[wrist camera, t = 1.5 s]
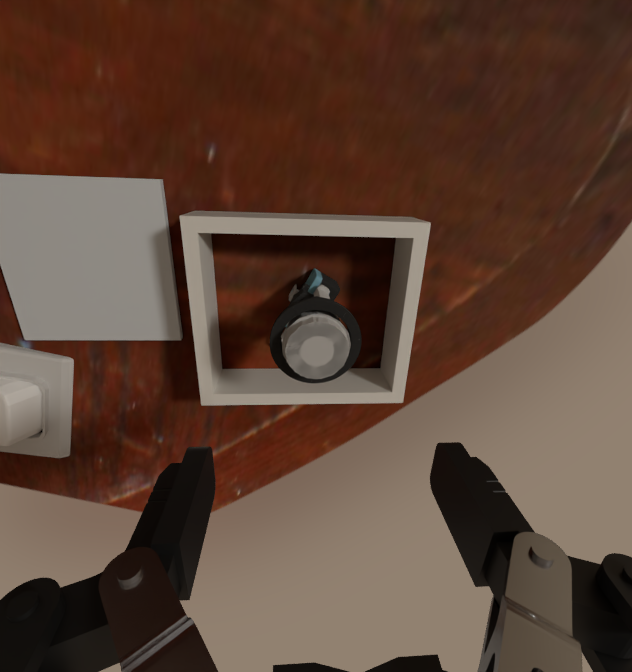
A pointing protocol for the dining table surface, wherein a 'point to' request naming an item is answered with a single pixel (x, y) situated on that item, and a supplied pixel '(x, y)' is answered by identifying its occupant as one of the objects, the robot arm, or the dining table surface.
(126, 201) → the pad
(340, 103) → the dining table surface
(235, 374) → the grey rectangular frame
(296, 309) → the push button
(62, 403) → the light switch
